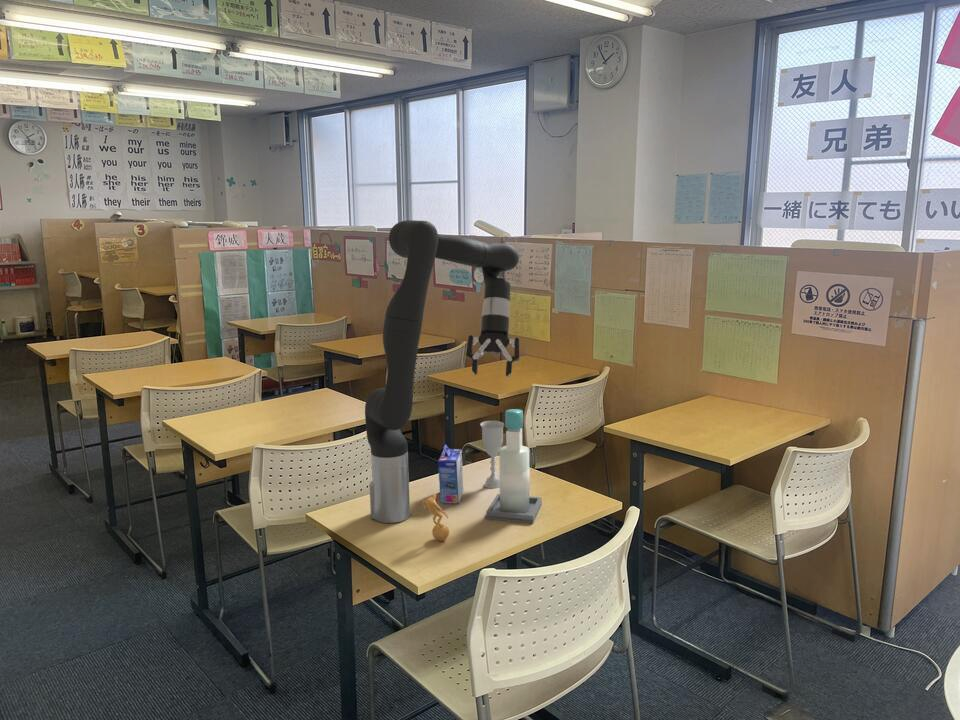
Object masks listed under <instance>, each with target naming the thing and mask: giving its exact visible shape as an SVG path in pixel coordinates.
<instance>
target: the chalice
mask: <svg viewBox="0 0 960 720" xmlns="http://www.w3.org/2000/svg"><path fill="white" fill-rule="evenodd" d="M479 424H480V427H481V432H482V433H481V434H482V435H481V436H482V438H481V439H482V440H481V441H482V443H483V447H484V449H485V451H486V454H487V455H488V456H490V461H489V464H490V465H491V466H490V468H489V469H490V471H491V474H490V475H489V476H488V477H487V478H486V480H485V483H484V487H485V486H486V488H489V489H499V488H500V476H498V475H496V473H495V471H496V470H497V468H496V467H495V466H496V461H495V458H496V456H498V454H499V449H500V448H501V447H503V446H502V445H503V442H504V427H505V426H506V423H505V422H502V421H499V420H486V421H485V420H484V421H482V422H480V423H479Z"/></svg>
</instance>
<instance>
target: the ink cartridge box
mask: <svg viewBox="0 0 960 720" xmlns="http://www.w3.org/2000/svg"><path fill="white" fill-rule="evenodd" d="M442 449H443V450H442V452H441V454H440V456H439V458H438V461H437V465H438V479H439V481H438V483H439V496H440V499H439V500H440V503H441V504H456V505H457V504H460V502H461V500H462V495H463V493H464V474H463V455H462V453H463V450H462V449H461V448H449V446H448V445H447V444H444V446H443V448H442Z"/></svg>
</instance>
